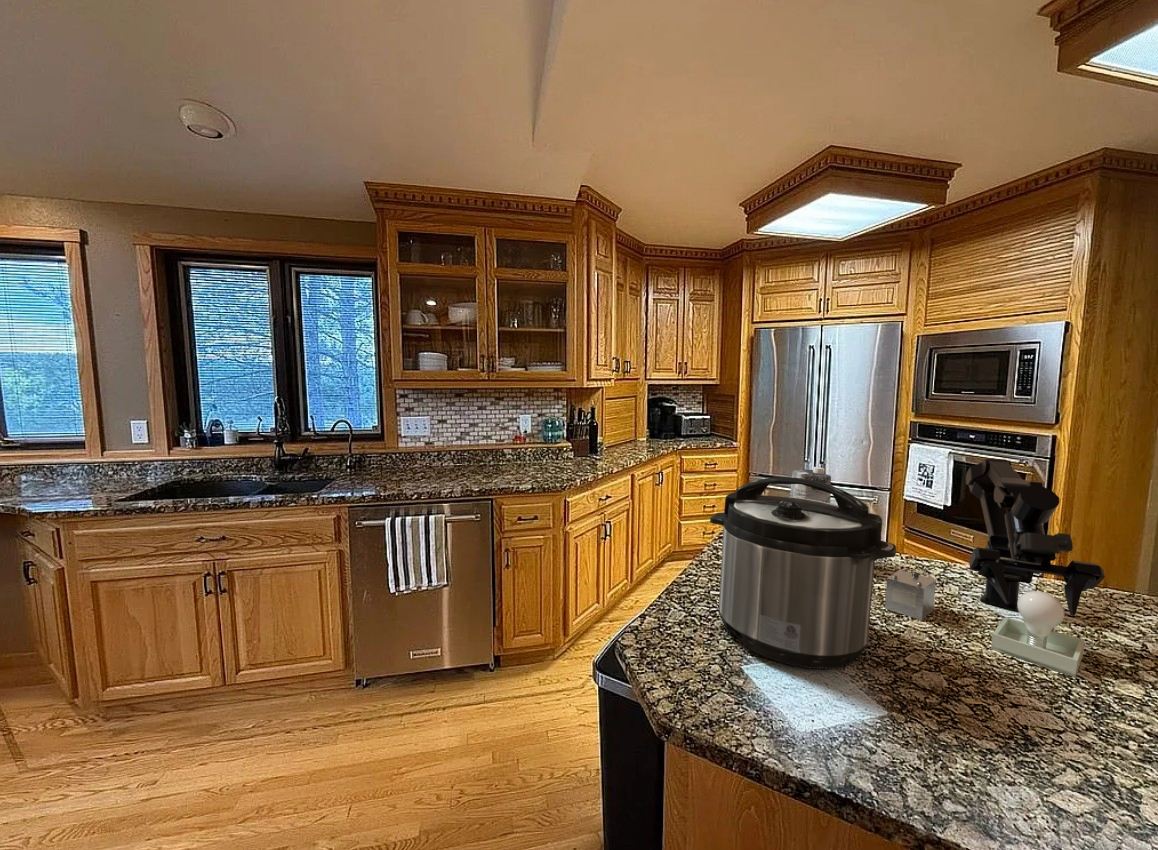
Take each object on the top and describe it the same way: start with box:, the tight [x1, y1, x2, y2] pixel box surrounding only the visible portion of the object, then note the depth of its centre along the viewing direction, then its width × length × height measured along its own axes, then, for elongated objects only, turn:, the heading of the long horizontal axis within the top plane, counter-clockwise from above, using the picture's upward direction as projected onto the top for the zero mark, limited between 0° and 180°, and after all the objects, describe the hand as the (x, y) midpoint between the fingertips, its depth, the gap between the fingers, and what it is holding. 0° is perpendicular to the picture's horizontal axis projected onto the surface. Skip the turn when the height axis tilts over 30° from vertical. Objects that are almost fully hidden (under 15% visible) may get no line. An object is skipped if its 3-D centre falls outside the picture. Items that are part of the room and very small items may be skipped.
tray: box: [990, 616, 1086, 678], centre depth 89 cm, size 11×11×3 cm
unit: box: [884, 569, 937, 621], centre depth 106 cm, size 8×7×8 cm
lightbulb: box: [1017, 590, 1065, 649], centre depth 89 cm, size 6×6×11 cm
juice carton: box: [789, 466, 832, 503], centre depth 136 cm, size 9×10×27 cm
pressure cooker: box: [709, 476, 897, 669], centre depth 93 cm, size 30×28×32 cm
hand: (1039, 608), depth 89 cm, fingers open, 9 cm apart
